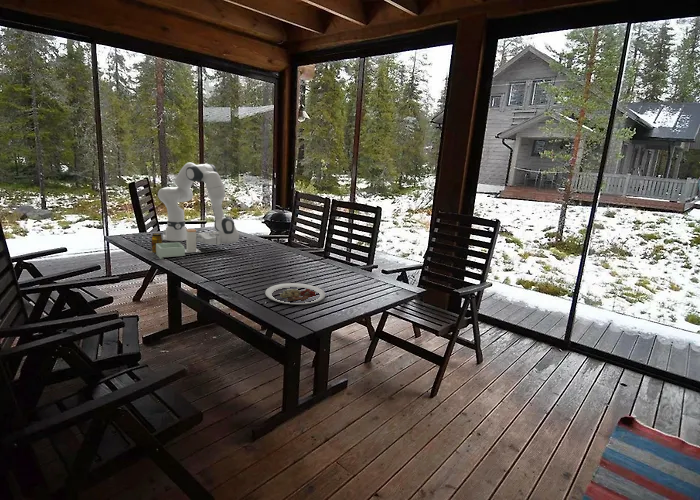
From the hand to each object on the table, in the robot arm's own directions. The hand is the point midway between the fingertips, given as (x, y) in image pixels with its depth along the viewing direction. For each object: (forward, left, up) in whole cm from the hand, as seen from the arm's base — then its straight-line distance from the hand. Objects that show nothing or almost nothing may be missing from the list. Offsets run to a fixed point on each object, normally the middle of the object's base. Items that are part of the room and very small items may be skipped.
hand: (194, 238), depth 257 cm
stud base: (0, -2, -9) cm, 10 cm away
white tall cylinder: (0, -2, -8) cm, 8 cm away
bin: (+5, -16, -9) cm, 19 cm away
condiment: (-8, -20, -10) cm, 24 cm away
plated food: (+99, +23, -10) cm, 102 cm away
